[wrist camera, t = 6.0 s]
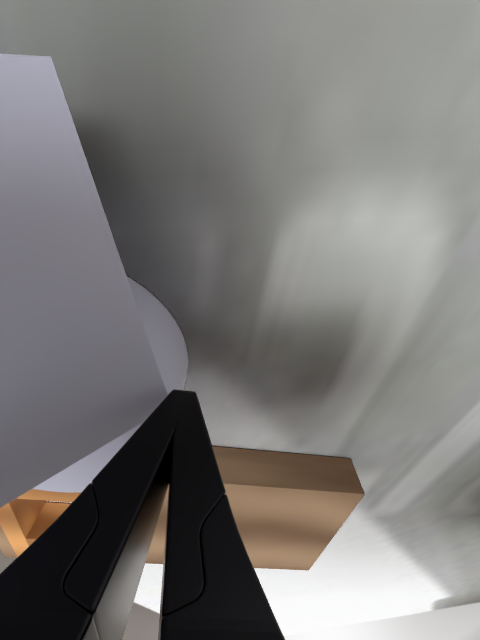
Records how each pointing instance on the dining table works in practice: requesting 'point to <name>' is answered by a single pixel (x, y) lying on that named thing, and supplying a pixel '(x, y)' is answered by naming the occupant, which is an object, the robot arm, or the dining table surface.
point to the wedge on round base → (66, 303)
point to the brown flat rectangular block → (234, 507)
